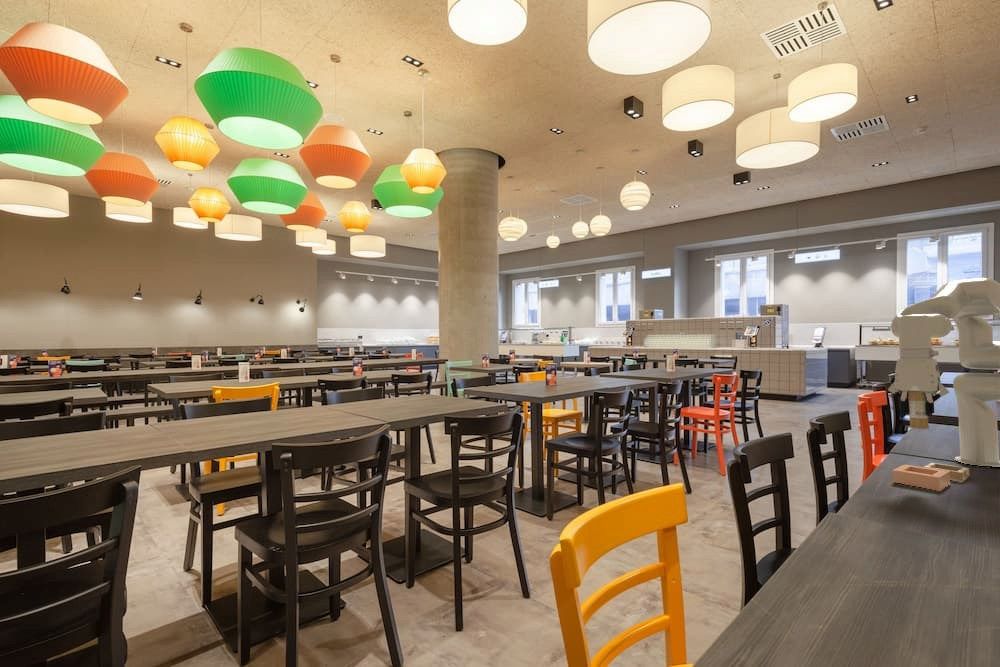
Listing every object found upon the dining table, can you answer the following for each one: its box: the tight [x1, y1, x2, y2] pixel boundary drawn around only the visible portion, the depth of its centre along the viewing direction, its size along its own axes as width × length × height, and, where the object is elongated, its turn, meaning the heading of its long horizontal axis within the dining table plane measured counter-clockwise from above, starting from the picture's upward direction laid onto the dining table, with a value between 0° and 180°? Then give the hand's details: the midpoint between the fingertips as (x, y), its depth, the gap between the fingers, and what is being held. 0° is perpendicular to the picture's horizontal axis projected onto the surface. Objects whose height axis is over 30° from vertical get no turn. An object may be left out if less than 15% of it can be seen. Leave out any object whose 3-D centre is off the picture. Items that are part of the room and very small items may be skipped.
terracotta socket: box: [892, 463, 951, 492], centre depth 144 cm, size 11×11×4 cm
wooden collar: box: [923, 462, 971, 483], centre depth 151 cm, size 9×9×3 cm
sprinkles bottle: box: [908, 386, 930, 430], centre depth 145 cm, size 5×5×13 cm
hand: (918, 414), depth 145 cm, fingers closed on sprinkles bottle, 4 cm apart
